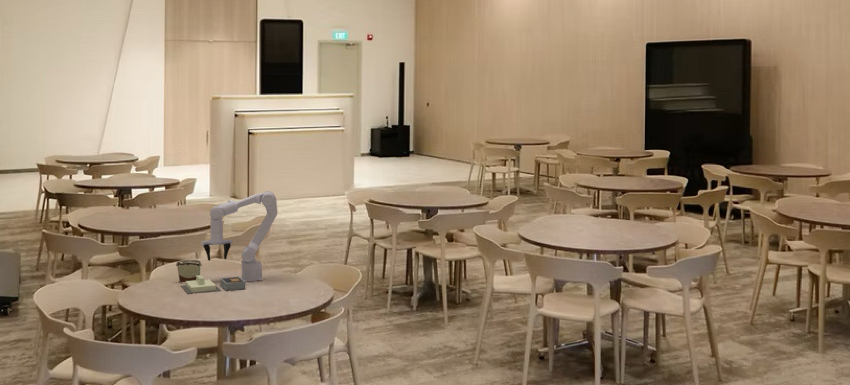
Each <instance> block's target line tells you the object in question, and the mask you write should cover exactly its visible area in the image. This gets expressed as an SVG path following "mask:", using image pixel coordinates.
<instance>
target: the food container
mask: <svg viewBox="0 0 850 385" xmlns="http://www.w3.org/2000/svg"><path fill="white" fill-rule="evenodd" d="M175 266H176V267H177V274H178V281H179V283H180V282H186V281H194V280H196V275H201V267H202V266H203V265H202V262H201V260H197V259H184V260H178V261H176V264H175Z"/></svg>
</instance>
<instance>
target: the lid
mask: <svg viewBox="0 0 850 385" xmlns="http://www.w3.org/2000/svg"><path fill="white" fill-rule="evenodd" d="M185 285H186V287H187V288H188V289H189V290H190V291H191V292H201V291H212V290H216V286H217V284H215V283H214V282H213V281H212V280H211V279H209V278H207V279H206V278H205V277H204V276H203V275H202V274H200V275H196V280H194V281H186V283H185Z"/></svg>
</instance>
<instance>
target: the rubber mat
mask: <svg viewBox="0 0 850 385" xmlns="http://www.w3.org/2000/svg"><path fill="white" fill-rule="evenodd" d="M180 287H181V288H182V290H185V291H184V292H185V293H186V294H187V295H192V293H195V294H201V293H202V294H203V293H213V292H214V293H215V292H221V291H222V289H220V288H219V287H218V286H217V285H216V290H212V291H201V292H191V291H190V290H189V289H188V288H187V287H186V284H183V285H180Z"/></svg>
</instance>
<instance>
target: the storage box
mask: <svg viewBox="0 0 850 385" xmlns="http://www.w3.org/2000/svg"><path fill="white" fill-rule="evenodd" d="M241 278H242V277H240V276H232V277H230V276H229V277H221V278H220V279H219V283H220V287H221V288H222V289H223V290H225V291H226V292H229V291H231V292H232V291H241V290H242V291H243V290H246V282H245V281H244V280H242V279H241Z"/></svg>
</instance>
